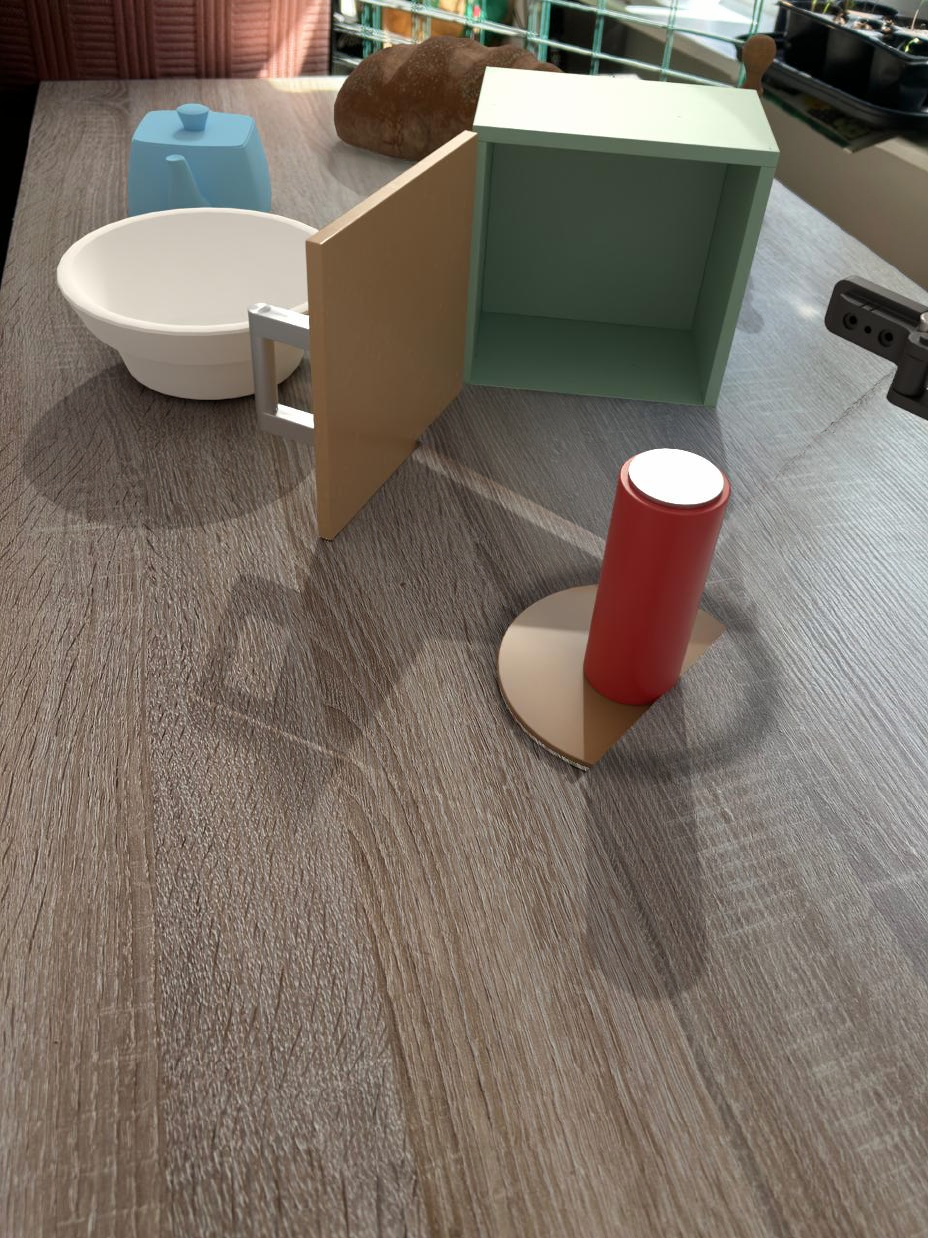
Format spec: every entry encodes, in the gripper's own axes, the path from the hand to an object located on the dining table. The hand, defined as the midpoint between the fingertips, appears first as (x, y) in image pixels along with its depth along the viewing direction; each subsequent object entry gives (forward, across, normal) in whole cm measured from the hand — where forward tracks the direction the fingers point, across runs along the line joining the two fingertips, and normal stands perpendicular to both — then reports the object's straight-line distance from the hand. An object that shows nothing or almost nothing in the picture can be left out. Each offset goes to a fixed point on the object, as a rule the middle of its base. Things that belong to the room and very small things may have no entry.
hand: (894, 273), depth 44 cm
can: (+5, +5, +24) cm, 25 cm away
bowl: (+49, +6, +25) cm, 55 cm away
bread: (+74, -41, +25) cm, 89 cm away
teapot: (+69, -5, +25) cm, 74 cm away
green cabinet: (+32, -18, +25) cm, 44 cm away
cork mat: (+5, +5, +25) cm, 26 cm away
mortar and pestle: (+44, -50, +25) cm, 71 cm away
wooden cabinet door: (+32, +4, +25) cm, 41 cm away
